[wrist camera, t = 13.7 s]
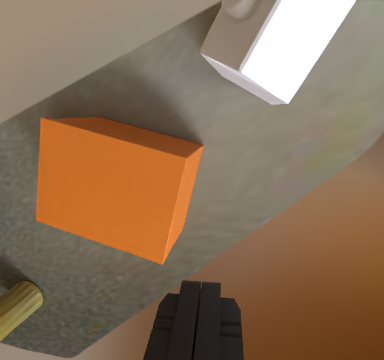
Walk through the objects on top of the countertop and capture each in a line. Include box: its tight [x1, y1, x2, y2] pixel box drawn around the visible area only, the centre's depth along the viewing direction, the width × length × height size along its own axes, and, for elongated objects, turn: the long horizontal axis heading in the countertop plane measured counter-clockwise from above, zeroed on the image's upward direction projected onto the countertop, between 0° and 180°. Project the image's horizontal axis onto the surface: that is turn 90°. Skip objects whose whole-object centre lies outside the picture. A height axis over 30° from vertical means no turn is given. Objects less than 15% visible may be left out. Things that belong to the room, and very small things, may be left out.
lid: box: [36, 117, 188, 264], centre depth 29 cm, size 16×13×1 cm
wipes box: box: [55, 117, 204, 259], centre depth 34 cm, size 16×13×9 cm
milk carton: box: [200, 0, 356, 105], centre depth 22 cm, size 7×7×19 cm
